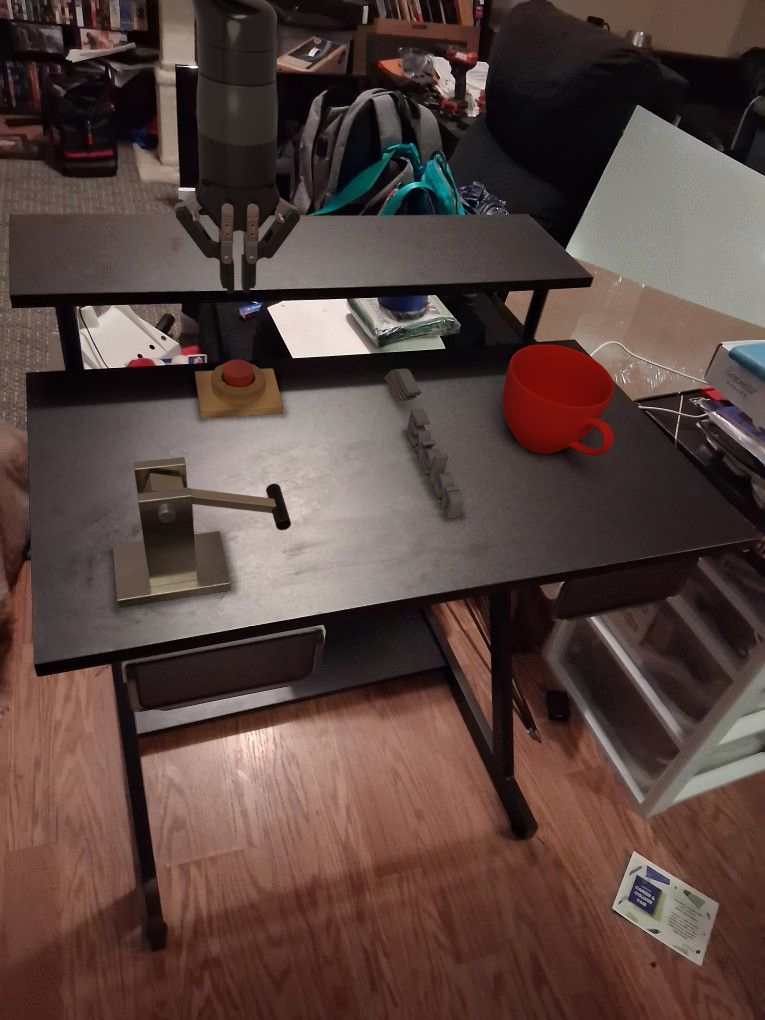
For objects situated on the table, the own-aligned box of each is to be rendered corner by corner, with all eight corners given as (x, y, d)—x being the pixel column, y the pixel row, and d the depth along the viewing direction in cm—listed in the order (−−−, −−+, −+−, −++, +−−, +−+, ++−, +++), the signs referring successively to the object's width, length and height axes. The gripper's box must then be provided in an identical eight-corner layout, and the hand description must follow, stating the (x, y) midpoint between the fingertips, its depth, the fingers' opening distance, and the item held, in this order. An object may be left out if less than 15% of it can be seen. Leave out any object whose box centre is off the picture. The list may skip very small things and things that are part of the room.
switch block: (201, 418, 89) (200, 398, 87) (195, 378, 94) (194, 359, 92) (282, 413, 92) (283, 394, 90) (272, 375, 97) (273, 356, 95)
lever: (275, 497, 73) (284, 480, 72) (286, 534, 70) (295, 517, 69) (141, 481, 66) (148, 461, 65) (146, 521, 63) (154, 501, 62)
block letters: (382, 385, 99) (388, 350, 95) (393, 384, 99) (399, 349, 95) (447, 519, 83) (457, 483, 79) (459, 517, 83) (470, 481, 79)
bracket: (219, 538, 76) (217, 445, 67) (231, 590, 72) (229, 499, 63) (113, 552, 73) (95, 457, 64) (118, 608, 69) (99, 515, 60)
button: (225, 389, 90) (225, 377, 88) (222, 371, 92) (221, 359, 91) (255, 387, 90) (255, 376, 89) (251, 370, 93) (251, 358, 92)
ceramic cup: (546, 503, 87) (574, 439, 80) (470, 416, 97) (489, 353, 90) (626, 477, 93) (659, 415, 85) (547, 398, 102) (570, 336, 95)
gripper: (166, 138, 66) (178, 309, 78) (314, 144, 69) (303, 306, 82) (161, 107, 71) (173, 273, 83) (300, 115, 74) (292, 272, 87)
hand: (238, 289), depth 82 cm, fingers closed
